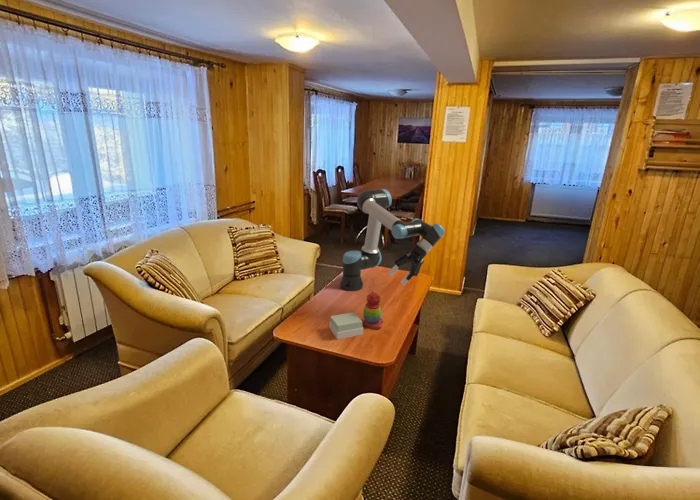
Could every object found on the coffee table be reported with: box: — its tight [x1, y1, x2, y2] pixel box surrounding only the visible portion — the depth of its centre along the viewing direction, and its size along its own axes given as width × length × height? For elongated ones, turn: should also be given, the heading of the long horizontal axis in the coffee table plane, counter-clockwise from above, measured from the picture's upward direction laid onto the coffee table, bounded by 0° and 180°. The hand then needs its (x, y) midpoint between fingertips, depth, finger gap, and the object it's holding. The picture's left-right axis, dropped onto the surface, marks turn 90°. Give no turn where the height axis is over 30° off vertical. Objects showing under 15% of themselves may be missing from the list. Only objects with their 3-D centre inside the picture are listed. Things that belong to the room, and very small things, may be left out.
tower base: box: [328, 311, 364, 340], centre depth 192 cm, size 12×14×7 cm
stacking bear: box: [362, 291, 384, 330], centre depth 198 cm, size 11×10×18 cm
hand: (395, 279), depth 197 cm, fingers open, 13 cm apart
